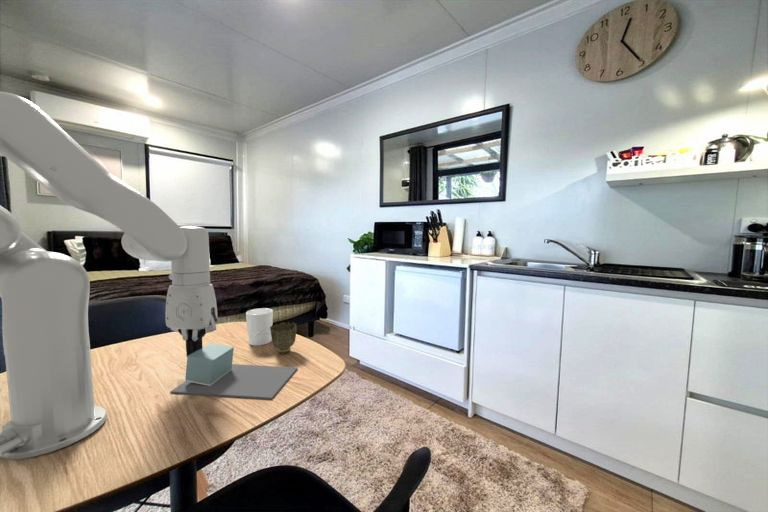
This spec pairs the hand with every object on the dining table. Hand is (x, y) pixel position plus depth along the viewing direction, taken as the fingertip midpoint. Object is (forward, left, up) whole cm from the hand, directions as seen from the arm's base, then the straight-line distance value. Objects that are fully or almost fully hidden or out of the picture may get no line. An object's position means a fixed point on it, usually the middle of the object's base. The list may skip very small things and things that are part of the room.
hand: (194, 354), depth 71 cm
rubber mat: (0, -11, -6) cm, 13 cm away
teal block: (0, -4, -5) cm, 6 cm away
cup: (+17, -15, -6) cm, 23 cm away
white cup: (+24, -4, -6) cm, 25 cm away
